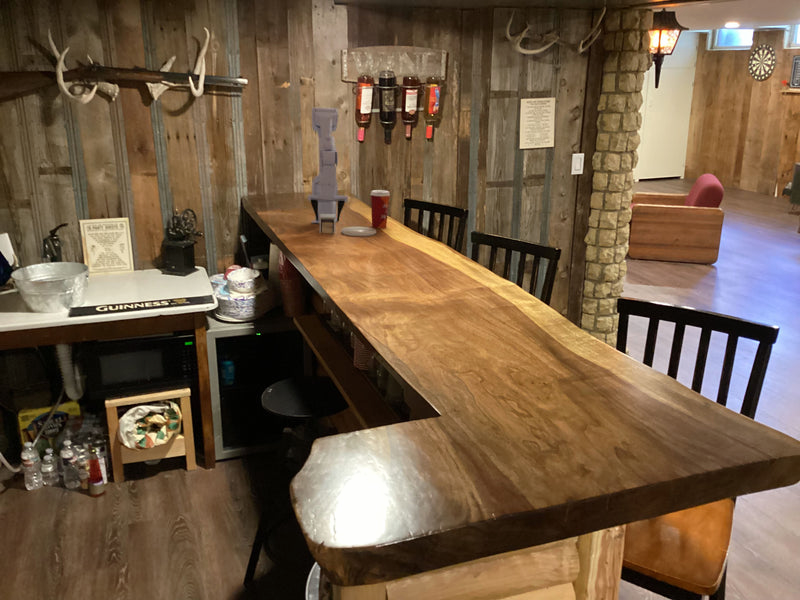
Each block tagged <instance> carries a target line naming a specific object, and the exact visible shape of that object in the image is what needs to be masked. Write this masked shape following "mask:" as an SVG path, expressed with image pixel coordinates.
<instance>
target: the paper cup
mask: <svg viewBox="0 0 800 600" xmlns="http://www.w3.org/2000/svg"><path fill="white" fill-rule="evenodd" d="M369 195H370V202H371V204H370V205H371V206H370V207H371V228H373V229H386V228H387V226H388V225H387V223H388V213H389V212H388V211H389V204H390V203H389V202H390V195H391V194H390V191H388V190H385V189H384V190H383V189H374V190H371V192H370V194H369Z"/></svg>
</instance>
